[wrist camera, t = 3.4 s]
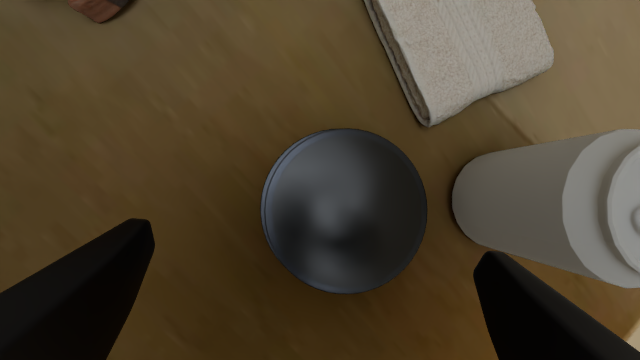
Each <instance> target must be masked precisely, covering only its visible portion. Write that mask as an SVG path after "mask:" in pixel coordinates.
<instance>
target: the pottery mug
mask: <svg viewBox="0 0 640 360" xmlns="http://www.w3.org/2000/svg"><path fill="white" fill-rule="evenodd" d="M67 1H68V4H69V6H70V7H71V8H73V9H74V10H76V11H78V12H80V13H82V14H84V15H85V16H87V17H89V18H91V19H92V20H94V21H95V22H97V23H101V22H103V21H106V20H108V19H109V18H110V17H112V16H114V15H115V14H116V13H117V12H118V11H119V10H120V9H121V8H122V7H124V6H125V4H126V3H127V2H128V1H129V0H67Z"/></svg>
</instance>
